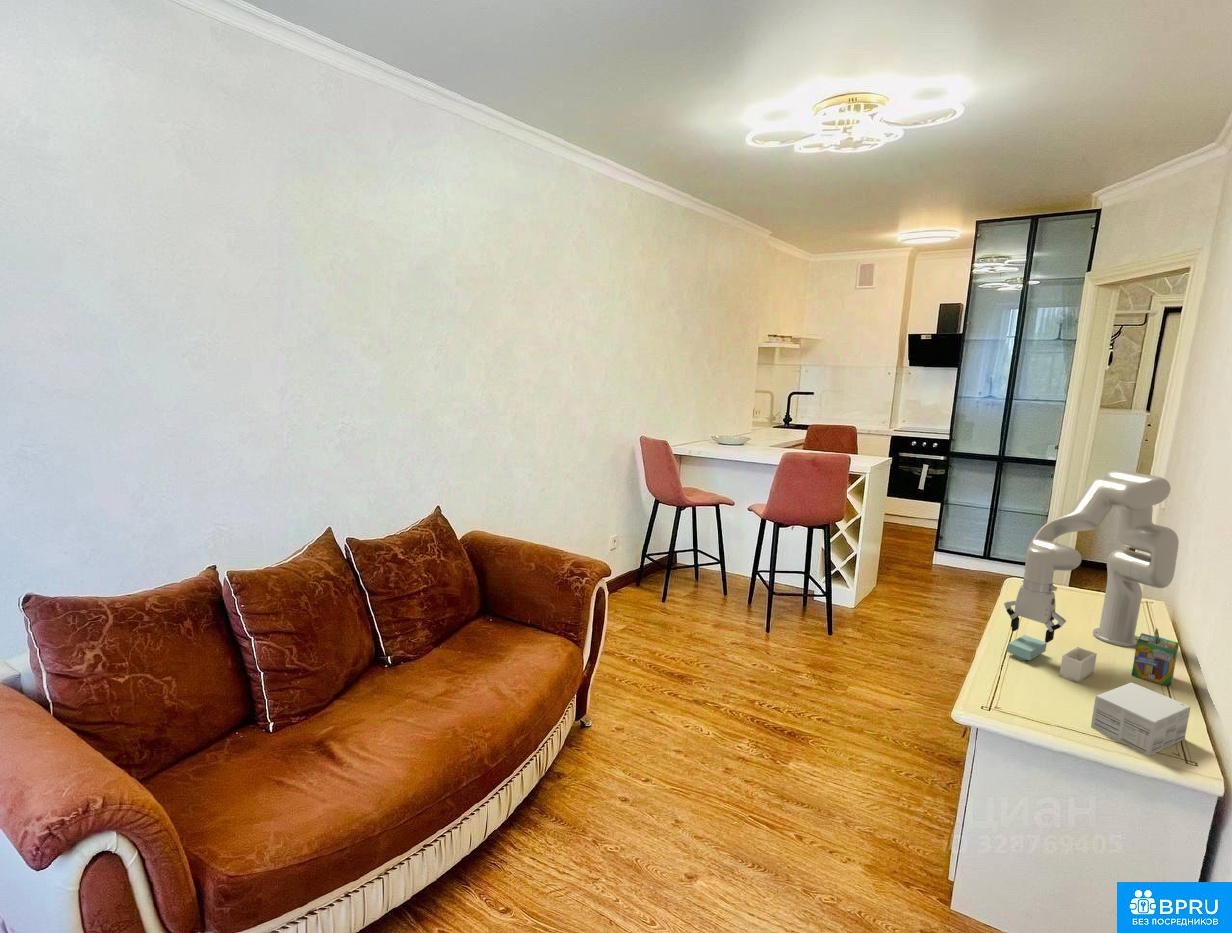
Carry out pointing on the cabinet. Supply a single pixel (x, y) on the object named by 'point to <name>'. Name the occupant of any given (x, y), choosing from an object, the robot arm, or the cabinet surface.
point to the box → (1077, 664)
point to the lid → (1026, 648)
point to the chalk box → (1155, 659)
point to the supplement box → (1140, 718)
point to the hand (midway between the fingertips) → (1031, 635)
